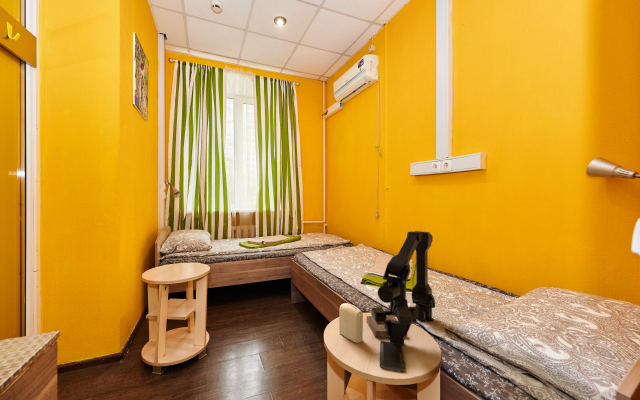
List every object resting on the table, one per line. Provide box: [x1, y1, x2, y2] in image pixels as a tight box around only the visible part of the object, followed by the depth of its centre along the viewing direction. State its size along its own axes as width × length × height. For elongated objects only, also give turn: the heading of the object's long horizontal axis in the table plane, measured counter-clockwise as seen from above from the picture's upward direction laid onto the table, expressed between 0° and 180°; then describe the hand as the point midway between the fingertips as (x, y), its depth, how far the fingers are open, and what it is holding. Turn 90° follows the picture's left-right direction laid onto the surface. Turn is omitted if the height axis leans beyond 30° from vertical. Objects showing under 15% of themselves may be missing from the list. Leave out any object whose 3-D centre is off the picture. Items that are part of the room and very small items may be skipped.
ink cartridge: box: [389, 319, 405, 347], centre depth 94 cm, size 5×2×8 cm, turn 66°
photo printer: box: [338, 302, 364, 344], centre depth 98 cm, size 10×4×12 cm, turn 39°
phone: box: [379, 340, 406, 373], centre depth 86 cm, size 8×1×15 cm
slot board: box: [365, 315, 405, 339], centre depth 104 cm, size 12×12×2 cm
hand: (397, 336), depth 94 cm, fingers closed on ink cartridge, 5 cm apart
